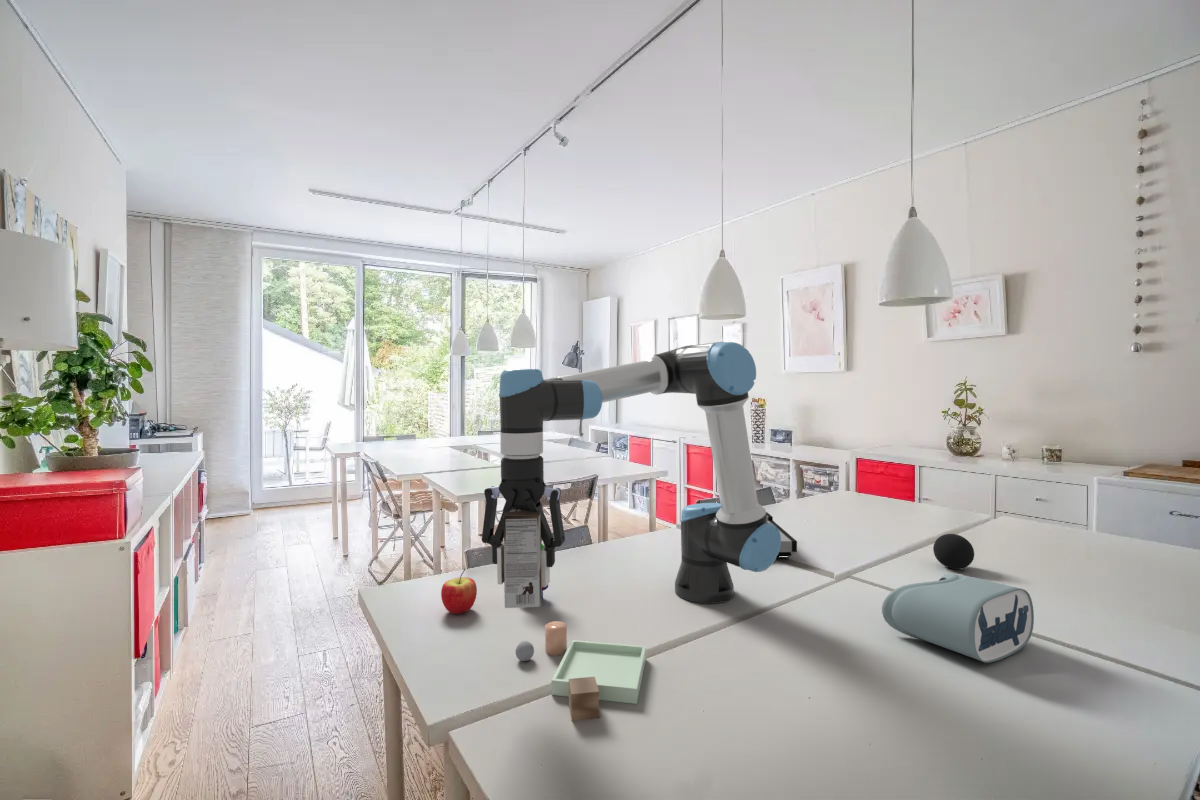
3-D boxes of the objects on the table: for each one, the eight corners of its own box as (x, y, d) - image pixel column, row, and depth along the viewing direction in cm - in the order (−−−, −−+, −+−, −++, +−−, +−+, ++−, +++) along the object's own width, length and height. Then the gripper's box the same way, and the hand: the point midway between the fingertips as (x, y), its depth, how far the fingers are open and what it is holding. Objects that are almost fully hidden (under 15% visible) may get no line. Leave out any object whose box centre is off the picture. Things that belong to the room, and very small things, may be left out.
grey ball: (536, 656, 106) (536, 638, 106) (530, 665, 102) (530, 647, 102) (519, 654, 107) (519, 637, 107) (513, 663, 103) (512, 645, 103)
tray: (645, 659, 105) (645, 646, 105) (636, 703, 90) (636, 688, 90) (572, 652, 107) (572, 639, 107) (551, 694, 93) (551, 680, 93)
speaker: (973, 566, 157) (973, 532, 157) (975, 576, 148) (975, 541, 148) (933, 560, 162) (933, 528, 162) (933, 570, 154) (933, 535, 153)
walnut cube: (594, 702, 91) (594, 676, 90) (599, 718, 86) (598, 691, 86) (568, 705, 90) (568, 678, 90) (571, 721, 85) (571, 694, 85)
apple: (484, 610, 128) (483, 569, 128) (453, 622, 122) (452, 579, 121) (465, 601, 133) (464, 562, 133) (434, 612, 127) (434, 570, 127)
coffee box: (508, 588, 99) (506, 502, 99) (542, 587, 100) (541, 502, 99) (503, 609, 90) (501, 514, 90) (541, 607, 91) (540, 513, 90)
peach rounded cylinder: (569, 645, 110) (568, 622, 110) (563, 656, 106) (563, 631, 106) (548, 644, 111) (548, 620, 111) (542, 654, 107) (542, 630, 107)
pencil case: (975, 673, 98) (972, 604, 98) (880, 636, 115) (878, 577, 115) (1035, 646, 108) (1032, 583, 109) (940, 615, 125) (937, 561, 125)
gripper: (582, 453, 96) (583, 578, 97) (477, 452, 100) (479, 572, 100) (572, 459, 89) (574, 594, 89) (459, 457, 92) (461, 587, 93)
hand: (523, 582), depth 95 cm, fingers closed on coffee box, 7 cm apart
